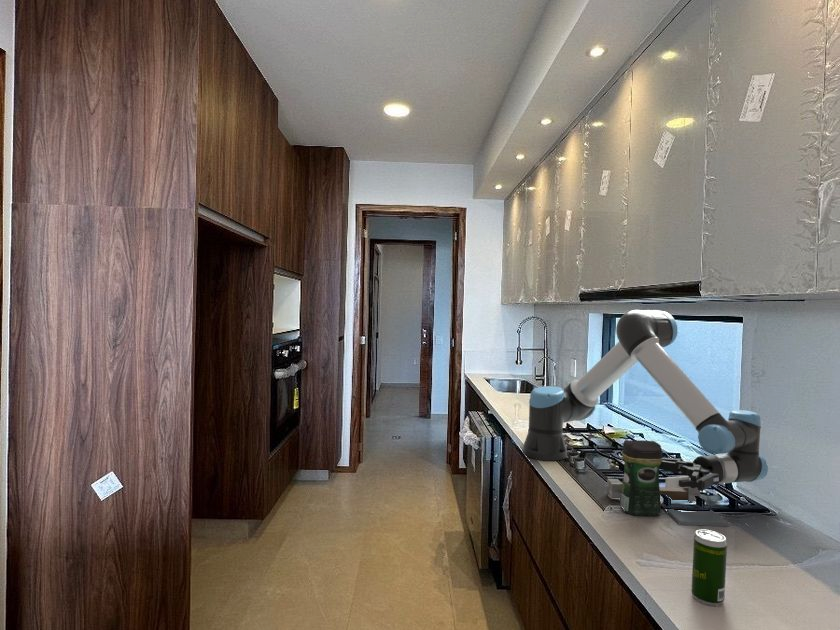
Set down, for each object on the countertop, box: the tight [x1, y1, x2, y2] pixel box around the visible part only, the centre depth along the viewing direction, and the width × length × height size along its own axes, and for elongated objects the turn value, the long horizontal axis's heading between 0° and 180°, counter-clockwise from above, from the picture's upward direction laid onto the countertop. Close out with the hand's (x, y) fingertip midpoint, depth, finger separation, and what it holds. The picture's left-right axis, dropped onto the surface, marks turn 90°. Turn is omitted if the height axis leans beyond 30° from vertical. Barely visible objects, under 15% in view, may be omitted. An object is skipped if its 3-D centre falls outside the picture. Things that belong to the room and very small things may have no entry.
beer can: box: [690, 529, 728, 607], centre depth 99 cm, size 5×5×12 cm
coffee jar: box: [619, 439, 663, 517], centre depth 140 cm, size 10×8×19 cm
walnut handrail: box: [606, 478, 701, 501], centre depth 149 cm, size 4×24×4 cm, turn 88°
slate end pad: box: [666, 502, 730, 527], centre depth 139 cm, size 13×12×1 cm
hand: (647, 474), depth 140 cm, fingers open, 13 cm apart
